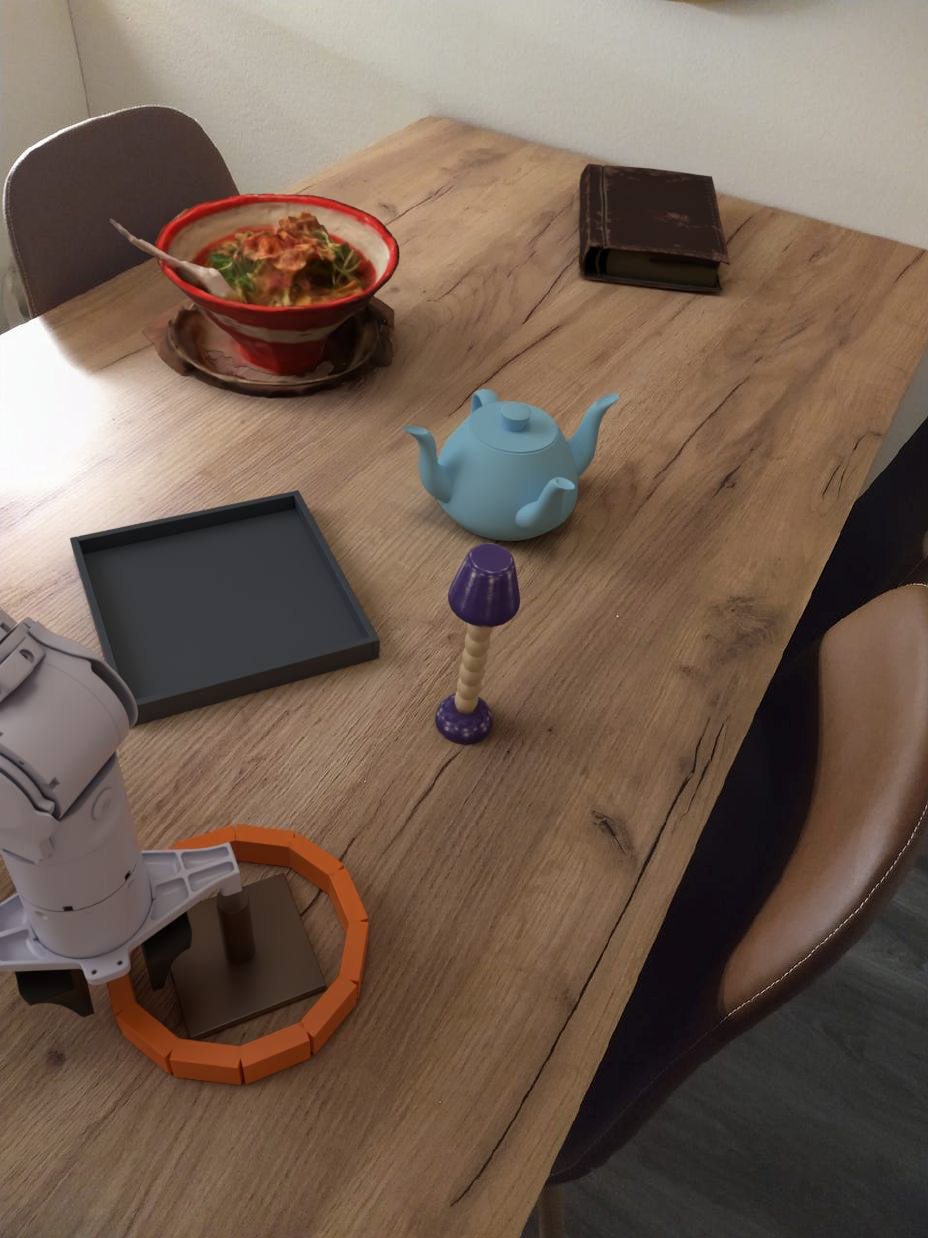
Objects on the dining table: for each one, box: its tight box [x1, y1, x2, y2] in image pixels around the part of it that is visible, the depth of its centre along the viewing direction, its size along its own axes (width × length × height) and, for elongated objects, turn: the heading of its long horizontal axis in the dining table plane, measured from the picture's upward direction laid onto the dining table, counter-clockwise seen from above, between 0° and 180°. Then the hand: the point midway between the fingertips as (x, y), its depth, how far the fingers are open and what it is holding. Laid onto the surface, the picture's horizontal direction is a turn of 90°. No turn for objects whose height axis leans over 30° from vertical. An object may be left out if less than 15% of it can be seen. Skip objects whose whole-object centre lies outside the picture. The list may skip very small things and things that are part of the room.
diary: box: [578, 163, 731, 293], centre depth 132 cm, size 19×25×5 cm
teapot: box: [402, 388, 620, 542], centre depth 90 cm, size 15×15×10 cm
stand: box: [169, 872, 327, 1041], centre depth 59 cm, size 8×8×7 cm
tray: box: [69, 489, 381, 726], centre depth 80 cm, size 19×19×2 cm
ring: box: [106, 823, 370, 1086], centre depth 60 cm, size 15×15×2 cm
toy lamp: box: [434, 542, 521, 745], centre depth 69 cm, size 5×5×17 cm
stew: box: [107, 193, 401, 399], centre depth 102 cm, size 28×24×16 cm
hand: (120, 986), depth 57 cm, fingers open, 3 cm apart
